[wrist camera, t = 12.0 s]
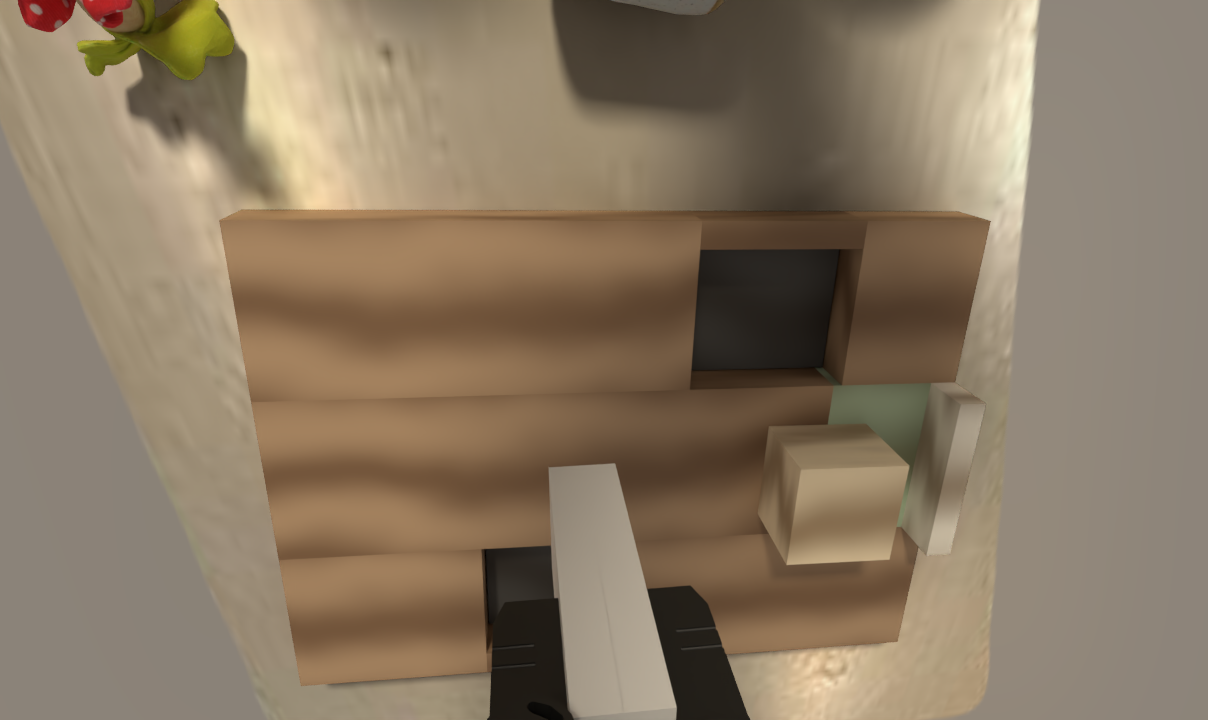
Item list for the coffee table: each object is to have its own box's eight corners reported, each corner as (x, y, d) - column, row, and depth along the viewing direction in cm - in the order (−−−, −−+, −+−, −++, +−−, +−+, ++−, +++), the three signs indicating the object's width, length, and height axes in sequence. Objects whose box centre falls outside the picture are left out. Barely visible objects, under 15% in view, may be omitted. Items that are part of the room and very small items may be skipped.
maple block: (768, 426, 41) (800, 469, 37) (866, 423, 42) (909, 465, 38) (757, 513, 44) (786, 565, 39) (850, 509, 44) (889, 559, 40)
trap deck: (241, 209, 36) (193, 233, 31) (958, 211, 41) (1027, 232, 36) (313, 650, 47) (286, 726, 41) (876, 611, 52) (920, 675, 46)
